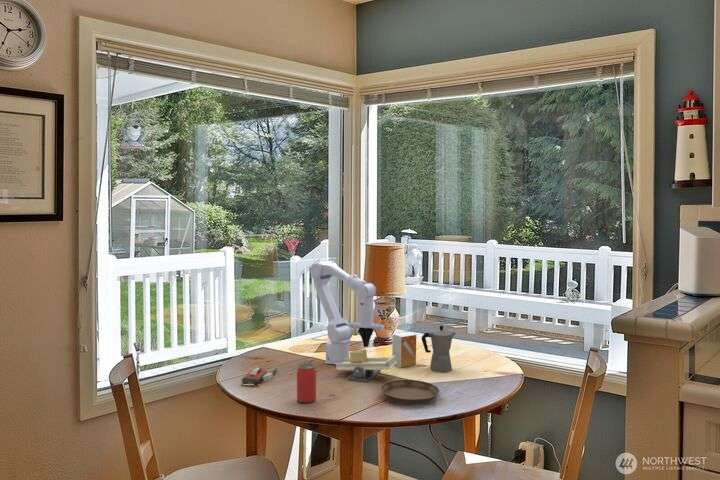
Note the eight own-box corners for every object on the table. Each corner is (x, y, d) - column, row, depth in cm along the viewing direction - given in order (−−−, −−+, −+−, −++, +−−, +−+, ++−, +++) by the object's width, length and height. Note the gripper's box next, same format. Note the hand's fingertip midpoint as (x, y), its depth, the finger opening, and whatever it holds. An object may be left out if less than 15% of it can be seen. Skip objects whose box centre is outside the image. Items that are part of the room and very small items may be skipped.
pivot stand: (347, 379, 231) (347, 368, 231) (361, 369, 245) (361, 358, 244) (366, 382, 228) (366, 370, 228) (380, 371, 242) (380, 360, 241)
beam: (336, 369, 236) (335, 361, 236) (345, 363, 244) (344, 356, 244) (389, 369, 227) (388, 361, 227) (396, 363, 236) (395, 355, 236)
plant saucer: (446, 392, 217) (446, 383, 217) (428, 411, 198) (429, 401, 198) (392, 385, 225) (392, 376, 225) (371, 402, 206) (371, 393, 206)
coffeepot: (449, 364, 252) (450, 322, 250) (460, 370, 243) (461, 326, 241) (416, 368, 246) (416, 324, 245) (426, 374, 237) (427, 329, 236)
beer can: (297, 397, 211) (296, 363, 210) (316, 396, 211) (315, 363, 211) (296, 403, 204) (296, 369, 203) (316, 403, 205) (316, 368, 204)
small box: (401, 368, 246) (401, 336, 245) (391, 364, 252) (392, 333, 250) (416, 365, 251) (416, 334, 250) (407, 361, 256) (407, 331, 255)
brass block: (351, 365, 235) (349, 352, 235) (355, 362, 240) (354, 349, 240) (362, 365, 234) (361, 352, 233) (367, 362, 238) (366, 349, 238)
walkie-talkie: (262, 388, 222) (279, 372, 241) (262, 376, 221) (279, 361, 241) (239, 387, 223) (258, 371, 243) (239, 375, 223) (258, 360, 243)
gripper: (345, 313, 242) (345, 346, 243) (379, 316, 237) (379, 350, 238) (352, 310, 249) (352, 342, 250) (385, 313, 243) (385, 346, 245)
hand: (366, 346), depth 244 cm, fingers closed
